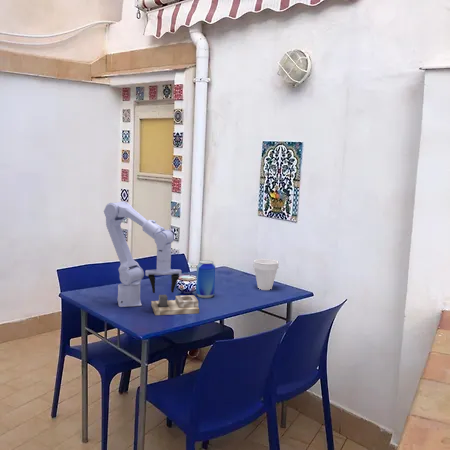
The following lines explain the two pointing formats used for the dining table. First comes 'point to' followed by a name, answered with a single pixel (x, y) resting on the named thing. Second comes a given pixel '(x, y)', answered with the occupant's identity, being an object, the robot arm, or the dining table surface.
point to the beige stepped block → (177, 306)
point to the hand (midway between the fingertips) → (163, 292)
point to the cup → (265, 272)
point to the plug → (163, 300)
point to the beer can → (205, 279)
